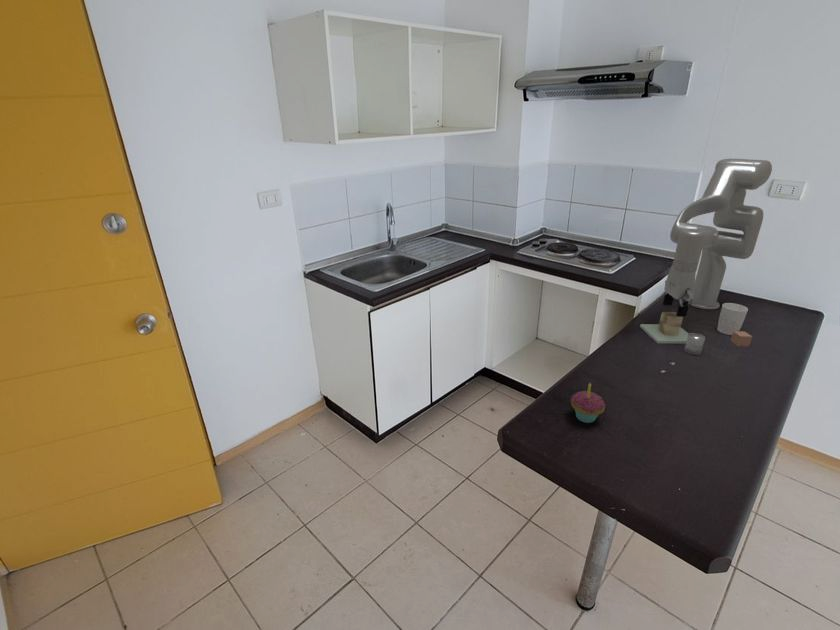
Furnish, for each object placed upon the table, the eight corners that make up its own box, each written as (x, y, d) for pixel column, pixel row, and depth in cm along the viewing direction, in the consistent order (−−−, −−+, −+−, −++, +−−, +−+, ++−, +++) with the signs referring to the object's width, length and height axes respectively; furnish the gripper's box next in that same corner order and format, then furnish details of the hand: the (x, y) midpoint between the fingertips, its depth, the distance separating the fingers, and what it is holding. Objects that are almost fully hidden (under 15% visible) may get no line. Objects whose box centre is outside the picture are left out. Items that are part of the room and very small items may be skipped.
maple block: (657, 329, 165) (661, 312, 162) (671, 329, 165) (675, 312, 162) (664, 335, 160) (669, 317, 157) (678, 335, 160) (683, 317, 157)
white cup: (717, 334, 163) (724, 309, 159) (713, 325, 170) (720, 301, 166) (742, 337, 161) (750, 312, 157) (737, 329, 167) (745, 304, 163)
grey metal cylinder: (681, 348, 153) (685, 332, 151) (695, 348, 153) (699, 332, 151) (689, 355, 149) (693, 339, 146) (703, 355, 149) (708, 339, 146)
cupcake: (598, 431, 112) (606, 391, 107) (564, 420, 116) (570, 381, 111) (605, 414, 119) (613, 375, 114) (573, 404, 123) (579, 366, 118)
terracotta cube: (730, 341, 158) (733, 331, 156) (741, 341, 158) (744, 331, 156) (737, 346, 154) (740, 336, 153) (748, 346, 154) (752, 336, 153)
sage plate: (639, 326, 169) (640, 324, 169) (676, 326, 169) (677, 324, 169) (657, 343, 156) (658, 340, 156) (697, 343, 156) (697, 341, 156)
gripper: (661, 257, 160) (652, 301, 167) (687, 273, 144) (675, 321, 152) (682, 257, 160) (672, 300, 167) (710, 273, 144) (697, 320, 151)
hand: (673, 310), depth 159 cm, fingers open, 9 cm apart
